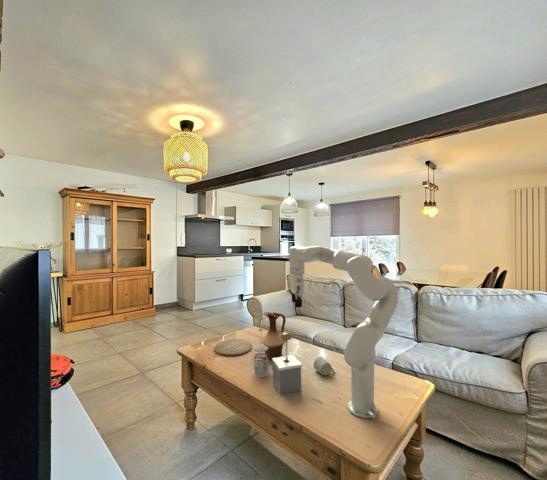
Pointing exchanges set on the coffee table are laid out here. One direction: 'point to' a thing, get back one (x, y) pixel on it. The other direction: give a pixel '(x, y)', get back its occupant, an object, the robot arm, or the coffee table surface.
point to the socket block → (286, 374)
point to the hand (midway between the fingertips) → (296, 304)
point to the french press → (260, 361)
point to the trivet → (232, 347)
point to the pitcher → (273, 336)
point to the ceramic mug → (322, 366)
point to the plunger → (286, 343)
